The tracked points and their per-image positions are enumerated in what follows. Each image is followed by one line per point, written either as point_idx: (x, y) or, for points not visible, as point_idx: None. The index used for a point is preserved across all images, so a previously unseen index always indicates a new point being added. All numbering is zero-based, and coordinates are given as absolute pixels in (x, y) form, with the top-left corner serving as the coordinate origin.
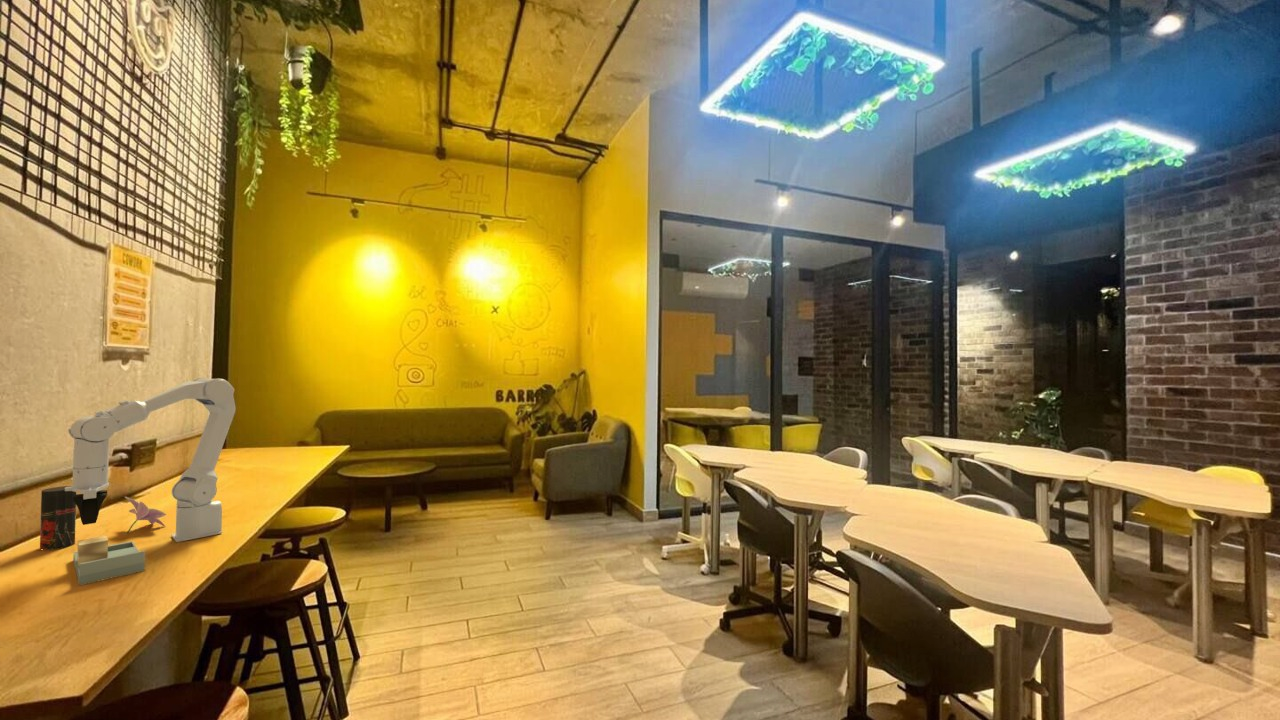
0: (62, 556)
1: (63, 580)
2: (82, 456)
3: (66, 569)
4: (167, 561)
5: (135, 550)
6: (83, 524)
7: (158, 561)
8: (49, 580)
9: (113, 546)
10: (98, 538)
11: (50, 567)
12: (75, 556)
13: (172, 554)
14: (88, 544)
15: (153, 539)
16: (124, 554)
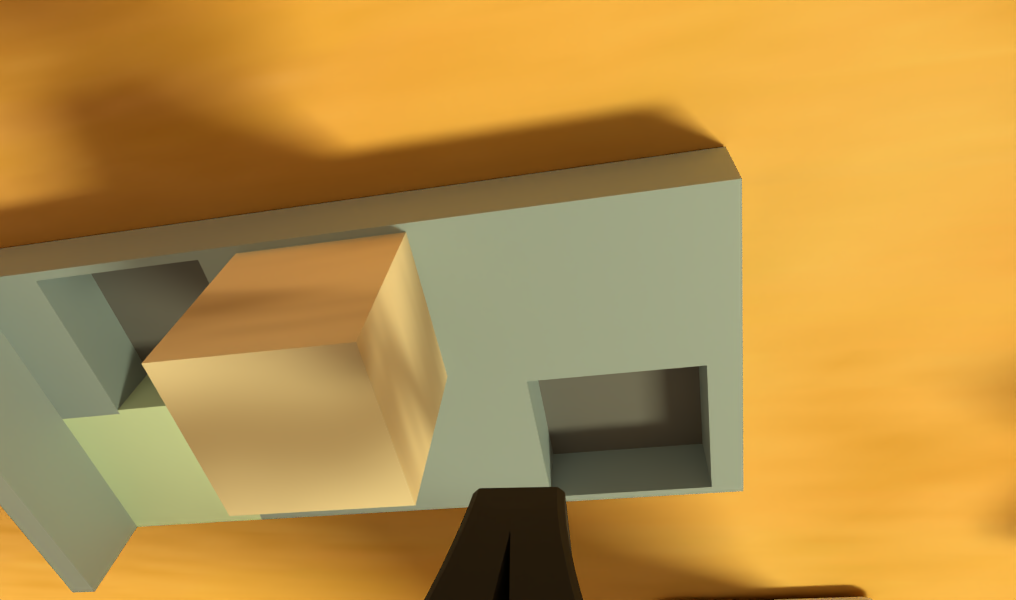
0: (1002, 40)
1: (156, 153)
2: None
3: (462, 133)
4: (274, 553)
5: (431, 500)
6: (473, 496)
7: (300, 527)
8: (204, 66)
9: (708, 400)
10: (345, 466)
11: (633, 5)
12: (554, 208)
13: (405, 572)
14: (177, 412)
15: (898, 526)
16: None
